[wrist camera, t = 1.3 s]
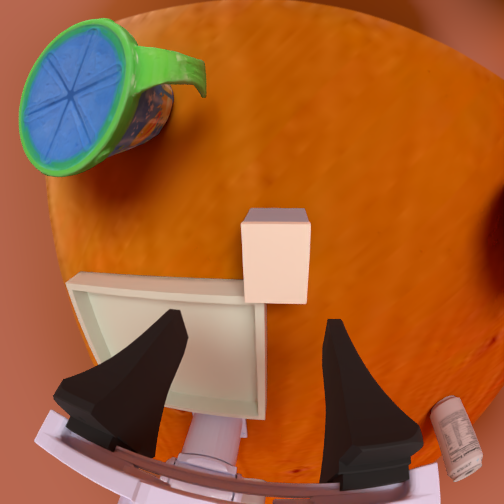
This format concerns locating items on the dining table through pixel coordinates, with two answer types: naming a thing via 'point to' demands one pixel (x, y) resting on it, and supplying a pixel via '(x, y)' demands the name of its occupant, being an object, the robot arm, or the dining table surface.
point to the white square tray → (198, 329)
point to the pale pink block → (276, 255)
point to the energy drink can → (456, 438)
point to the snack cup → (98, 96)
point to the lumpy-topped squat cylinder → (253, 496)
